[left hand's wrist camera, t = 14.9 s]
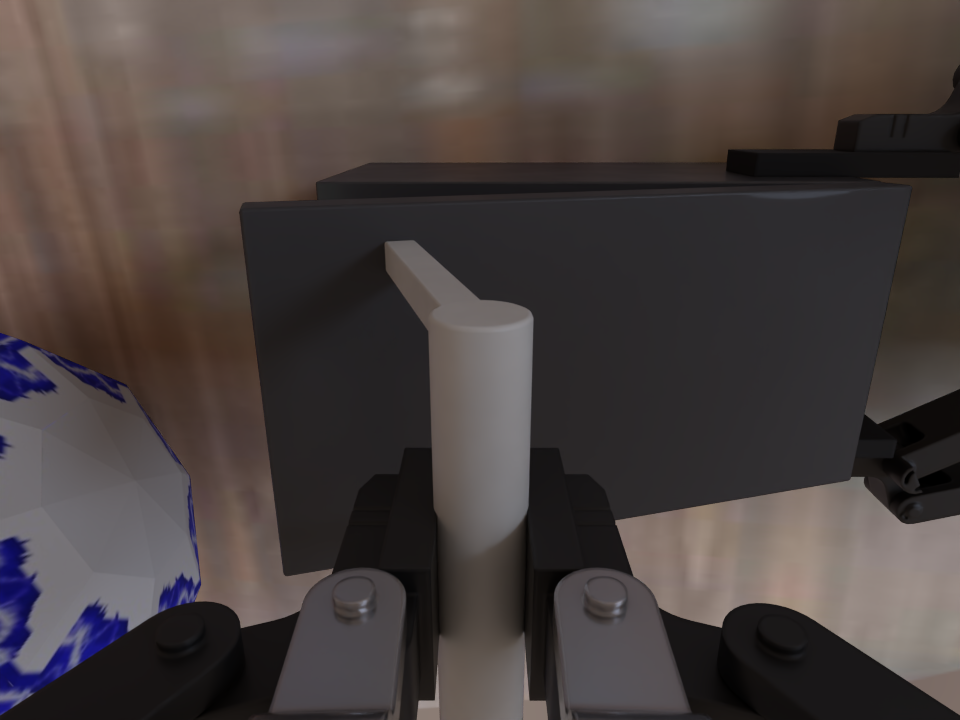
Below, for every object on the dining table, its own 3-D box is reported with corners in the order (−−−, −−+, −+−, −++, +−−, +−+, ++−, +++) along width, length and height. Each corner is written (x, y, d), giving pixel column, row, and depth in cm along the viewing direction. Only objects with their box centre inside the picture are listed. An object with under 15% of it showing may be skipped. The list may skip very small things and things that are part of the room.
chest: (379, 366, 32) (338, 459, 23) (368, 162, 29) (315, 182, 20) (735, 368, 32) (827, 462, 23) (763, 162, 28) (883, 181, 20)
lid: (283, 550, 18) (286, 875, 10) (241, 202, 15) (200, 291, 7) (823, 463, 23) (1110, 644, 15) (878, 181, 20) (1279, 223, 12)
